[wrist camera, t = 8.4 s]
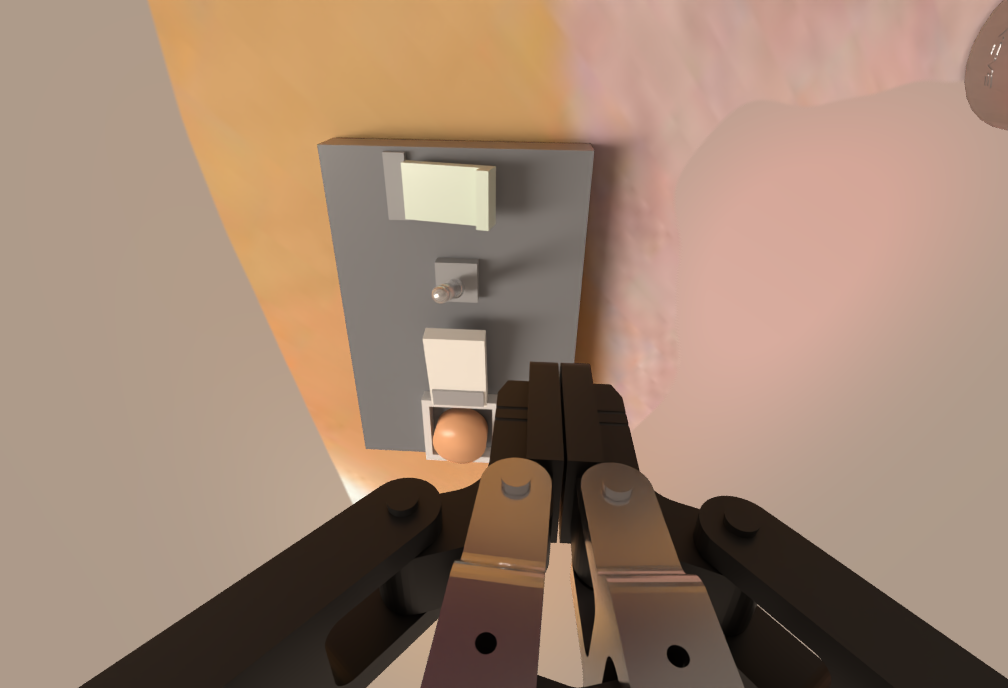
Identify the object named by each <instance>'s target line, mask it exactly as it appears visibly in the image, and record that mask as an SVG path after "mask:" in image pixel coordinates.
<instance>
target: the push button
mask: <svg viewBox="0 0 1008 688" xmlns="http://www.w3.org/2000/svg"><path fill="white" fill-rule="evenodd" d="M487 435H488V425H487V422H486V420H485V418H484V417H483V416H482V415H481V414H480V413H478V412H477V411H475V410H473V409H470V408H451V409H448V410H447V411H445V412H444V413H442V414H441V416H440V417H439V419H438V421H437V425H436V429H435V432H434V436H433V446H434V448H435V450H436V452H437V453H438V454H439V455H440V456H441V457H442V458H444V459H446V460H448V461H450V462H453V463H460V464H464V463H470V462H473V461H475V460H477V459H479V458H480V457H481V456H482V455H483V453H484V452H485V449H486V443H487Z"/></svg>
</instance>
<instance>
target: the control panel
mask: <svg viewBox="0 0 1008 688" xmlns="http://www.w3.org/2000/svg"><path fill="white" fill-rule="evenodd" d="M317 147H318V153H319V159H320V165H321V172H322V178H323V184H324V190H325V197H326V203H327V209H328V215H329V221H330V228H331V234H332V240H333V246H334V253H335V259H336V265H337V271H338V278H339V284H340V290H341V296H342V303H343V309H344V315H345V321H346V328H347V334H348V340H349V346H350V353H351V359H352V365H353V371H354V377H355V384H356V390H357V396H358V402H359V409H360V415H361V421H362V427H363V434H364V440H365V446H366V449H379V450H399V451H419V452H426V460H445V461H448V460H446V459H444V458H442V457H441V456H440V455H439V454H438V453H437V452H436V450H435V448H434V446H433V436H434V432H435V429H436V425H437V421H438V419H439V417H440V416H441V414H442V413H444V412H445V411H447V410H448V409H451V408H470V409H473V410H475V411H477V412H478V413H480V414H481V415H482V416H483V417H484V418H485V420H486V422H487V425H488V435H487V443H486V449H485V452H484V453H483V455H482V456H481V457H480V458H479V459H477V460H475V461H473V462H484V463H489V460H490V452H491V444H492V436H493V428H494V420H495V412H496V404H497V396H498V391H499V390H500V389H501V388H502V387H503V385H504V384H505V383H506V382H507V381H508V380H515V381H529V366H530V361H532V362H555V363H558V364H559V370H560V363H574V359H575V349H576V338H577V328H578V317H579V307H580V296H581V285H582V275H583V264H584V254H585V243H586V233H587V222H588V212H589V201H590V191H591V180H592V170H593V159H594V149H593V148H592V146H591V144H587V143H542V142H497V141H452V140H407V139H362V138H332V139H329V140H327V141H324V142H322V143H320V144H317ZM405 160H410V161H425V162H440V163H455V164H470V165H485V166H496V224H495V225H494V226H493V227H492V228H491V229H490V230H489V231H483V230H476V226H472V225H462V224H451V223H441V222H431V221H420V220H410V219H405V208H404V196H403V184H402V172H401V162H403V161H405ZM450 279H459V280H460V281H462V283H463V284H464V288H465V290H464V293H463V295H462V296H461V297H459V298H456V299H451V300H449V301H447V302H446V303H443V304H439V303H436V302H435V301H434V300H433V299H432V295H431V294H432V290H433V289H434V287H436V286H438V285H441V284H444V283H446V282H447V281H448V280H450ZM425 328H443V329H468V330H486V351H487V382H488V399H487V407H475V406H453V405H434V404H432V401H431V394H430V387H429V380H428V373H427V366H426V359H425V352H424V345H423V335H424V332H425Z"/></svg>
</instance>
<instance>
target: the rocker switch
mask: <svg viewBox="0 0 1008 688" xmlns="http://www.w3.org/2000/svg"><path fill="white" fill-rule="evenodd" d="M423 345H424V352H425V359H426V366H427V373H428V380H429V387H430V394H431V401H432V404H434V405H453V406H475V407H487V399H488V382H487V351H486V330H468V329H443V328H425V332H424V335H423Z"/></svg>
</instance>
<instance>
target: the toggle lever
mask: <svg viewBox="0 0 1008 688" xmlns="http://www.w3.org/2000/svg"><path fill="white" fill-rule="evenodd" d="M464 290H465V288H464V284H463V283H462V281H460V280H459V279H450V280H448V281H447V282H446V283H444V284H441V285H438V286H436V287H434V289H433V290H432V294H431V295H432V299H433V300H434V301H435V302H436V303H439V304H443V303H446V302H447V301H449V300H451V299H456V298H459V297H461V296H462V295H463V293H464Z"/></svg>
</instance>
